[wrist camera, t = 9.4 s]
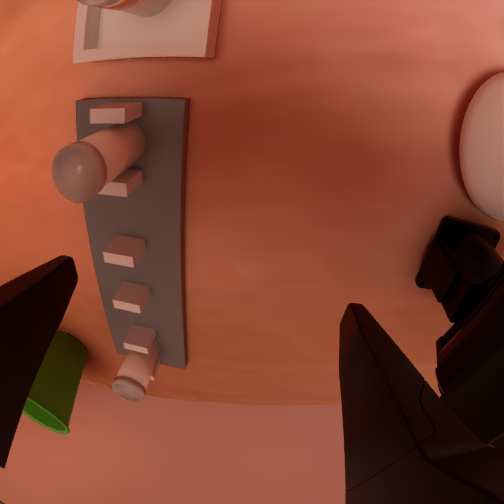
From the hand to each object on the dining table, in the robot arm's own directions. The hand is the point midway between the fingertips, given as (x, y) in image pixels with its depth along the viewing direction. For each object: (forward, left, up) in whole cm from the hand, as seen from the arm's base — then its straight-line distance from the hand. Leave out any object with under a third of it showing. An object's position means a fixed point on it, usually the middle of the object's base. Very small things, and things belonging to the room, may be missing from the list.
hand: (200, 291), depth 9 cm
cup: (+20, +25, -13) cm, 34 cm away
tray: (+7, -11, -12) cm, 18 cm away
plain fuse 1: (+8, -1, -12) cm, 14 cm away
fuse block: (+8, +9, -12) cm, 17 cm away
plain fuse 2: (+8, +19, -12) cm, 24 cm away
